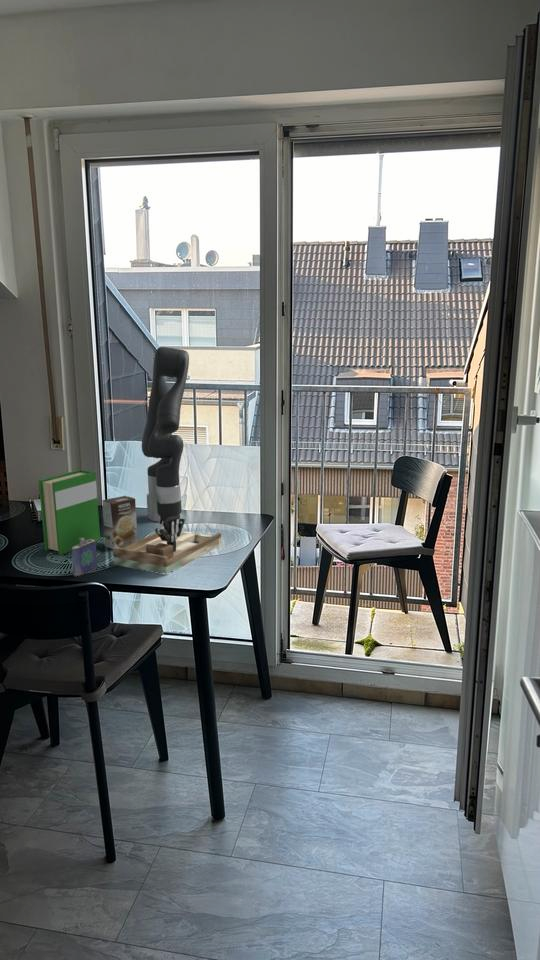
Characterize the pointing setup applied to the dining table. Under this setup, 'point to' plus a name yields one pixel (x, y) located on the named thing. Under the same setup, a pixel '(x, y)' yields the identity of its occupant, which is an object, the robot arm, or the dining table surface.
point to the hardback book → (69, 510)
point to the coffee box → (119, 521)
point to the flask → (84, 557)
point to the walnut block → (162, 550)
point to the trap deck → (184, 554)
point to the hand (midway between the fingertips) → (171, 551)
